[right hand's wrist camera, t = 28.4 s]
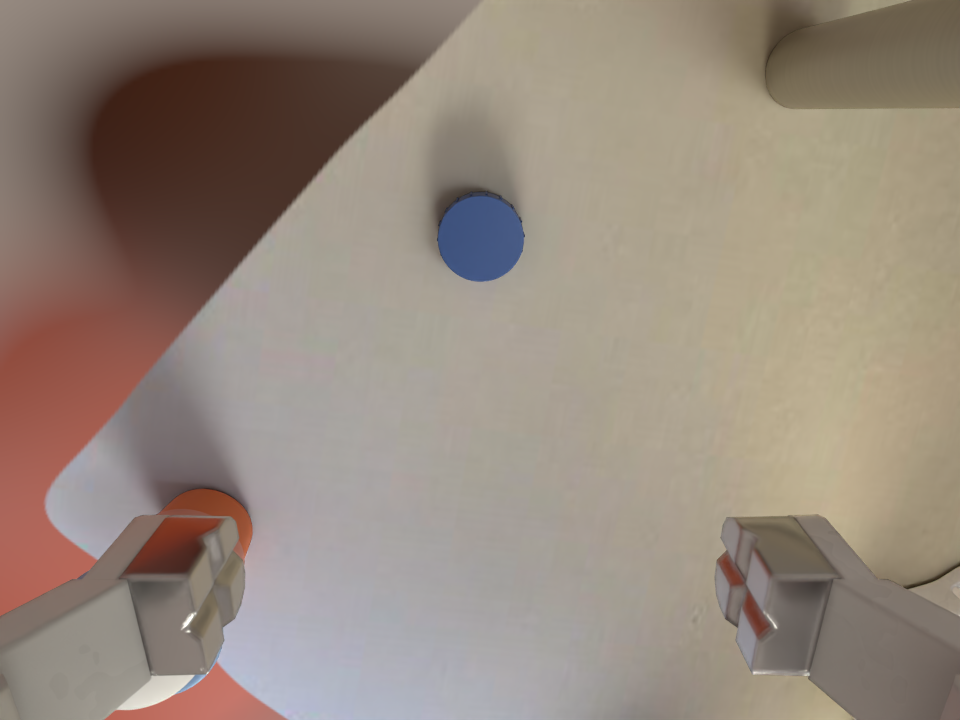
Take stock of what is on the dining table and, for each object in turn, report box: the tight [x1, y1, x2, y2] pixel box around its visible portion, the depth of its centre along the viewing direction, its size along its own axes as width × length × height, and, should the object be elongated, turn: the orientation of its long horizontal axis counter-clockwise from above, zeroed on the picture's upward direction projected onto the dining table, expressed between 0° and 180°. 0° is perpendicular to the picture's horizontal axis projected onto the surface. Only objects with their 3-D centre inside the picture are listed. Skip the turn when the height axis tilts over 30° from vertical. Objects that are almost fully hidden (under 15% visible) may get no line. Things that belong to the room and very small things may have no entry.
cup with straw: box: [78, 489, 252, 710], centre depth 37 cm, size 9×9×18 cm
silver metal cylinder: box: [765, 0, 960, 109], centre depth 26 cm, size 4×4×18 cm
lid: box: [437, 191, 525, 282], centre depth 37 cm, size 5×5×2 cm
